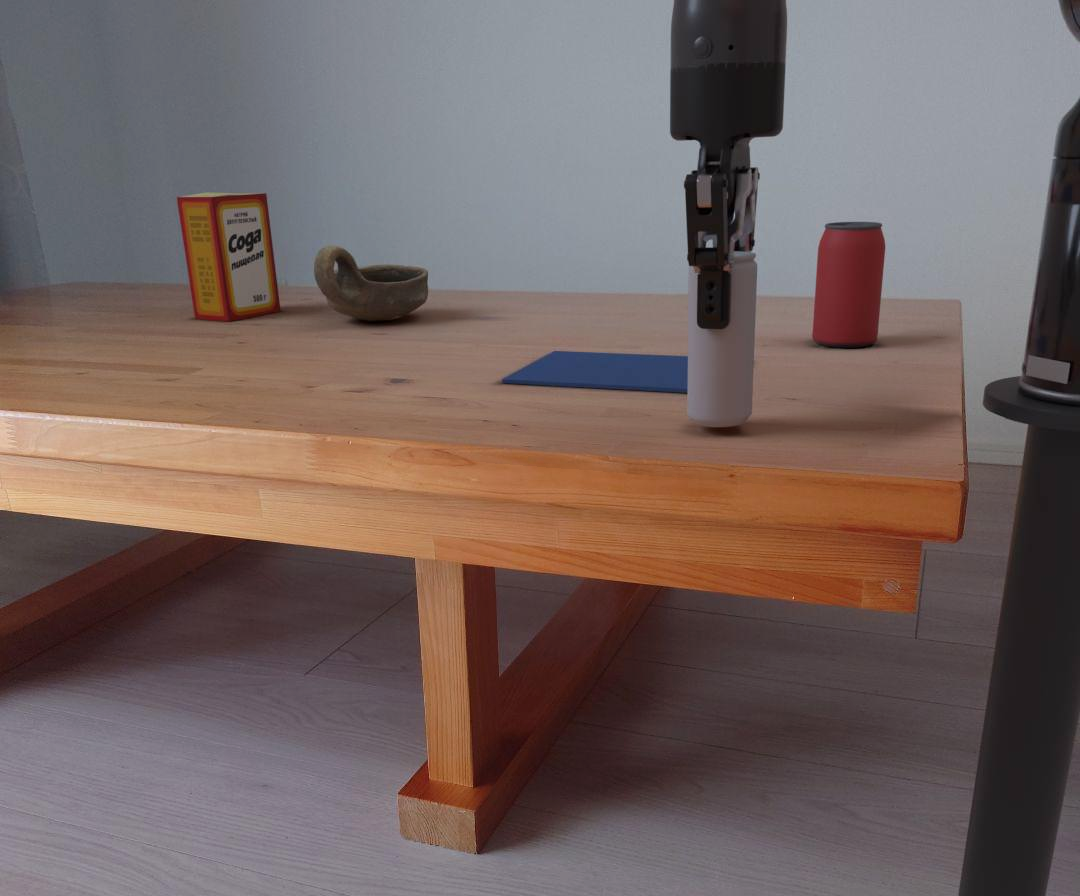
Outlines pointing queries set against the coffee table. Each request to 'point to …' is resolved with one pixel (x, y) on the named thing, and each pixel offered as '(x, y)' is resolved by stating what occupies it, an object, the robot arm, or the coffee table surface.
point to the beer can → (849, 284)
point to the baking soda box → (229, 255)
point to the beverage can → (723, 352)
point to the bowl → (369, 286)
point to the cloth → (606, 371)
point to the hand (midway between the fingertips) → (721, 320)
